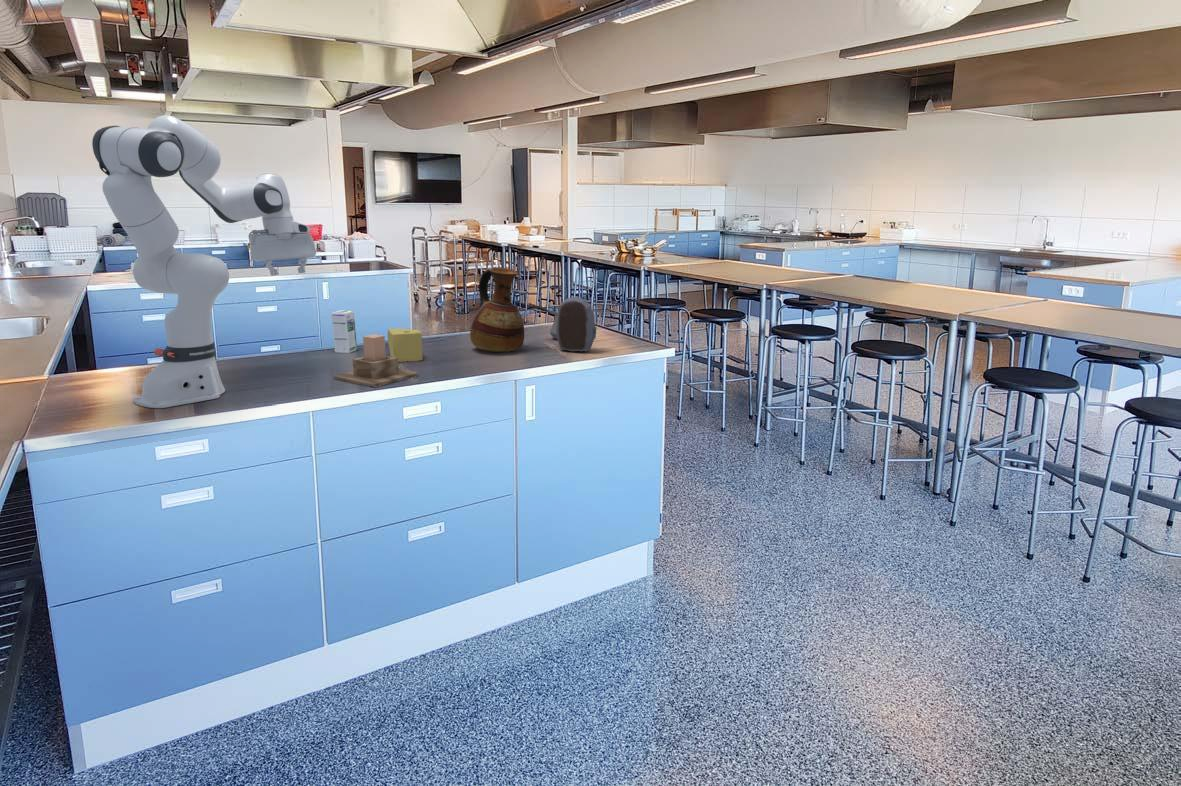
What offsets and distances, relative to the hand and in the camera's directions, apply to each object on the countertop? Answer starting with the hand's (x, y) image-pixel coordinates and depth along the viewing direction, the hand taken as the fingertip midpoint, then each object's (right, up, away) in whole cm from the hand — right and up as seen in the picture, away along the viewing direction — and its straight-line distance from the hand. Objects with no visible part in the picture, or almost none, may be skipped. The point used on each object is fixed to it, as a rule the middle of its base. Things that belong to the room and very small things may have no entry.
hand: (288, 274), depth 229 cm
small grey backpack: (+89, -22, +42) cm, 101 cm away
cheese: (+30, -26, +25) cm, 47 cm away
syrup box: (+6, -22, +35) cm, 42 cm away
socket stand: (+28, -32, -1) cm, 42 cm away
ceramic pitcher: (+60, -21, +41) cm, 76 cm away
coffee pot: (+79, -16, +62) cm, 102 cm away
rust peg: (+28, -31, -1) cm, 42 cm away
